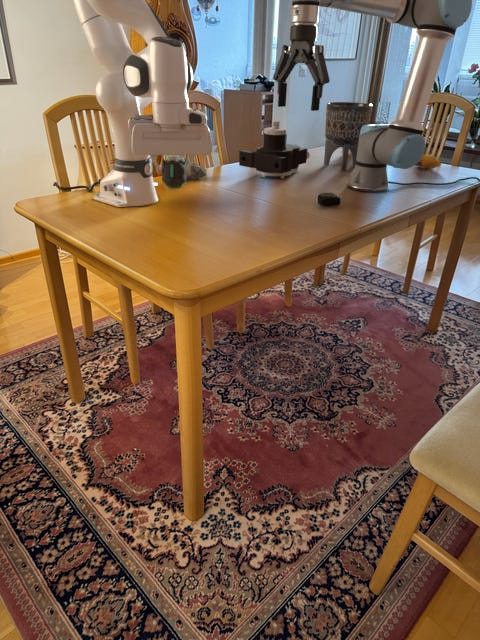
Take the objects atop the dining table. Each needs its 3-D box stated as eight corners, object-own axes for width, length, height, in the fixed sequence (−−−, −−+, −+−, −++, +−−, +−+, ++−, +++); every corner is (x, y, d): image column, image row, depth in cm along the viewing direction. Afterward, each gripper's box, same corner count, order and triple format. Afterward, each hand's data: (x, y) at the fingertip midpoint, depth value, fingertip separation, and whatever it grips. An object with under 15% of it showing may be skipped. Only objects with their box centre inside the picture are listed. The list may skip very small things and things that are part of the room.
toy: (415, 162, 205) (409, 155, 218) (417, 175, 208) (411, 168, 221) (441, 154, 202) (433, 147, 215) (443, 168, 205) (435, 160, 218)
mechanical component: (240, 120, 182) (283, 115, 202) (239, 174, 192) (280, 164, 212) (283, 126, 170) (325, 120, 190) (280, 183, 180) (320, 171, 200)
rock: (199, 174, 190) (198, 158, 187) (211, 178, 185) (211, 162, 181) (172, 179, 183) (171, 162, 179) (184, 183, 177) (183, 166, 174)
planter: (313, 167, 208) (319, 103, 195) (331, 160, 222) (338, 101, 209) (353, 173, 199) (362, 107, 185) (369, 166, 213) (379, 104, 199)
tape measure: (320, 209, 151) (321, 197, 149) (314, 203, 157) (315, 192, 155) (339, 208, 152) (341, 197, 150) (333, 202, 158) (334, 191, 156)
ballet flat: (190, 165, 137) (188, 137, 133) (194, 189, 117) (192, 156, 113) (162, 167, 136) (160, 138, 132) (162, 190, 116) (159, 157, 112)
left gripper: (126, 116, 107) (132, 175, 114) (212, 116, 109) (213, 175, 116) (128, 113, 112) (134, 170, 119) (211, 113, 115) (211, 170, 122)
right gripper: (263, 25, 132) (260, 105, 143) (330, 22, 116) (321, 113, 127) (281, 26, 136) (277, 104, 147) (348, 24, 120) (338, 111, 131)
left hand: (173, 172), depth 118 cm, fingers closed on ballet flat, 6 cm apart
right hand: (297, 108), depth 137 cm, fingers open, 13 cm apart
